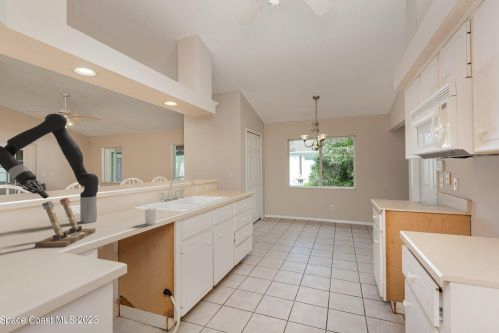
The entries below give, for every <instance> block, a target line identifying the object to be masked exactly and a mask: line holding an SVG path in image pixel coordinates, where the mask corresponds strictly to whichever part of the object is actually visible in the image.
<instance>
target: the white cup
mask: <svg viewBox="0 0 499 333" xmlns="http://www.w3.org/2000/svg"><path fill="white" fill-rule="evenodd" d="M157 220H158V208H157V207H147V208H146V207H145V209H144V221H145V225H147V226H149V225H150V226H152V225H156V224H157V222H158V221H157Z"/></svg>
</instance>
